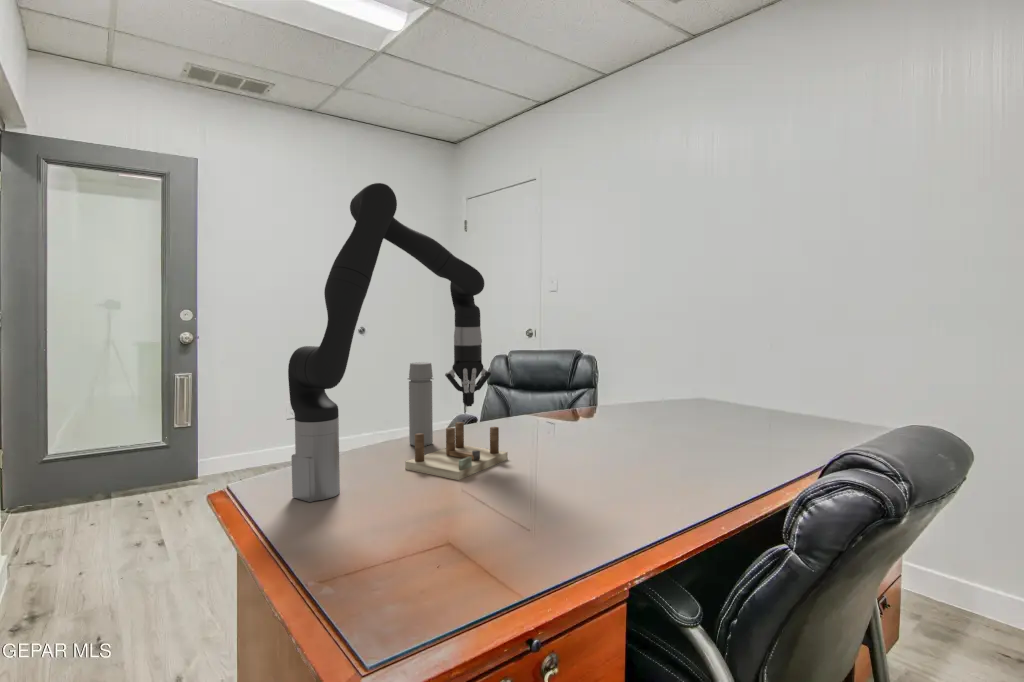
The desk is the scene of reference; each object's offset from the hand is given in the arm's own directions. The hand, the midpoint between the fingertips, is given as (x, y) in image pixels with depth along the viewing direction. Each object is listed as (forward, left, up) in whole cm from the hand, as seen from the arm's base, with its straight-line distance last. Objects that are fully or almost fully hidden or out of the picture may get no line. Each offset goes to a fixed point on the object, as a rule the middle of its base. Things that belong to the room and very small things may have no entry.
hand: (468, 405), depth 152 cm
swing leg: (-6, -2, -13) cm, 14 cm away
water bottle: (+6, +23, -15) cm, 28 cm away
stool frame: (-6, -1, -15) cm, 16 cm away
